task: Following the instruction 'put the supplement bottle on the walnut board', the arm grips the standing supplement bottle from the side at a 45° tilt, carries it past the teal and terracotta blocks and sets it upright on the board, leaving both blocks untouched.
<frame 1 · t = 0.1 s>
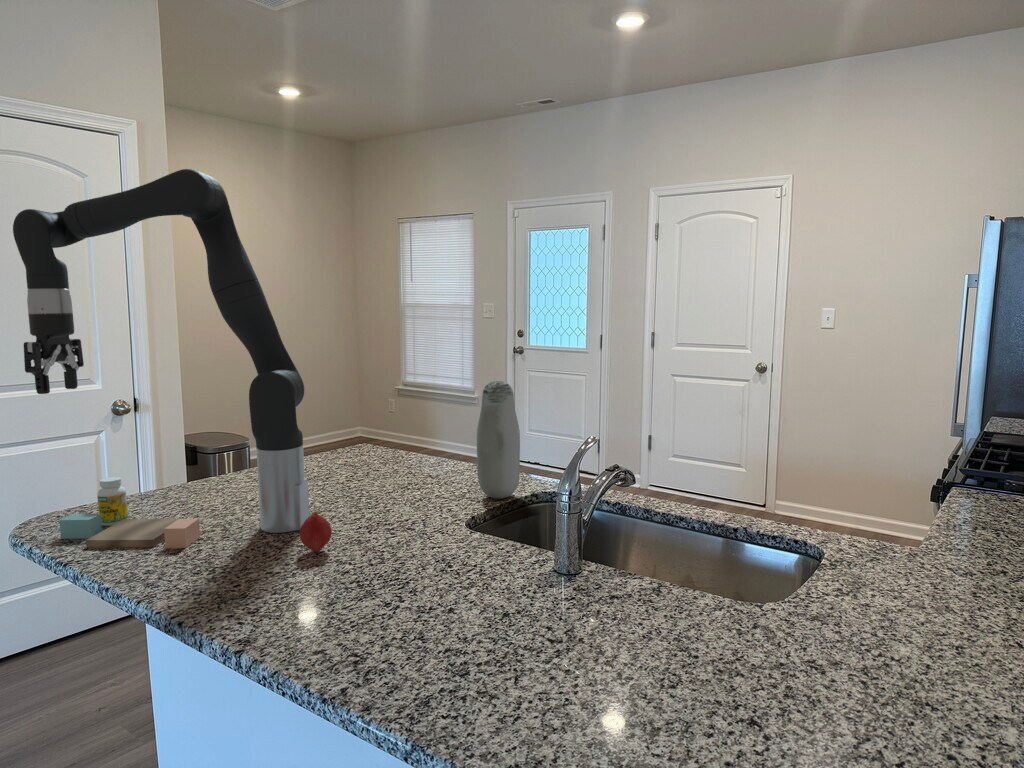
hand: (58, 391, 141), 29 cm above the worktop, tool pointing down, fingers open, 8 cm apart
teal block: (82, 535, 140), on the worktop
walnut board: (138, 535, 139), on the worktop
onion: (316, 552, 129), on the worktop
supplement bottle: (114, 523, 148), on the worktop
terracotta block: (183, 543, 135), on the worktop
grey bottle: (499, 498, 164), on the worktop
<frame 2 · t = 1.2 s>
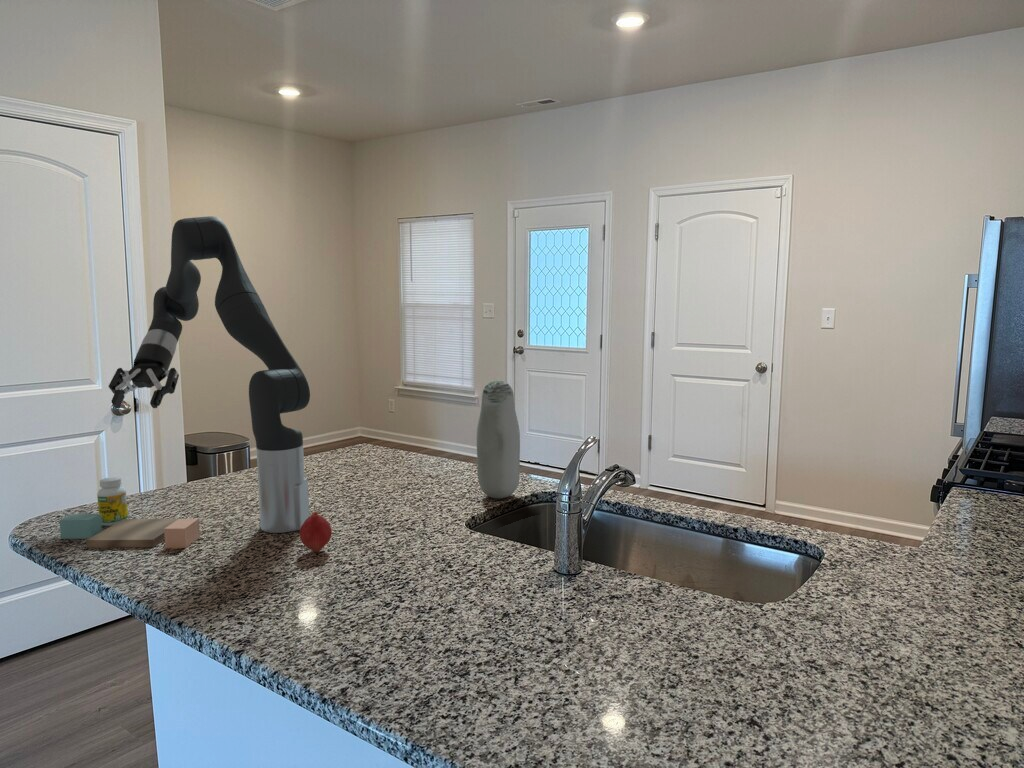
hand: (134, 406, 157), 24 cm above the worktop, tool tilted 45°, fingers open, 8 cm apart
nothing on the worktop moved.
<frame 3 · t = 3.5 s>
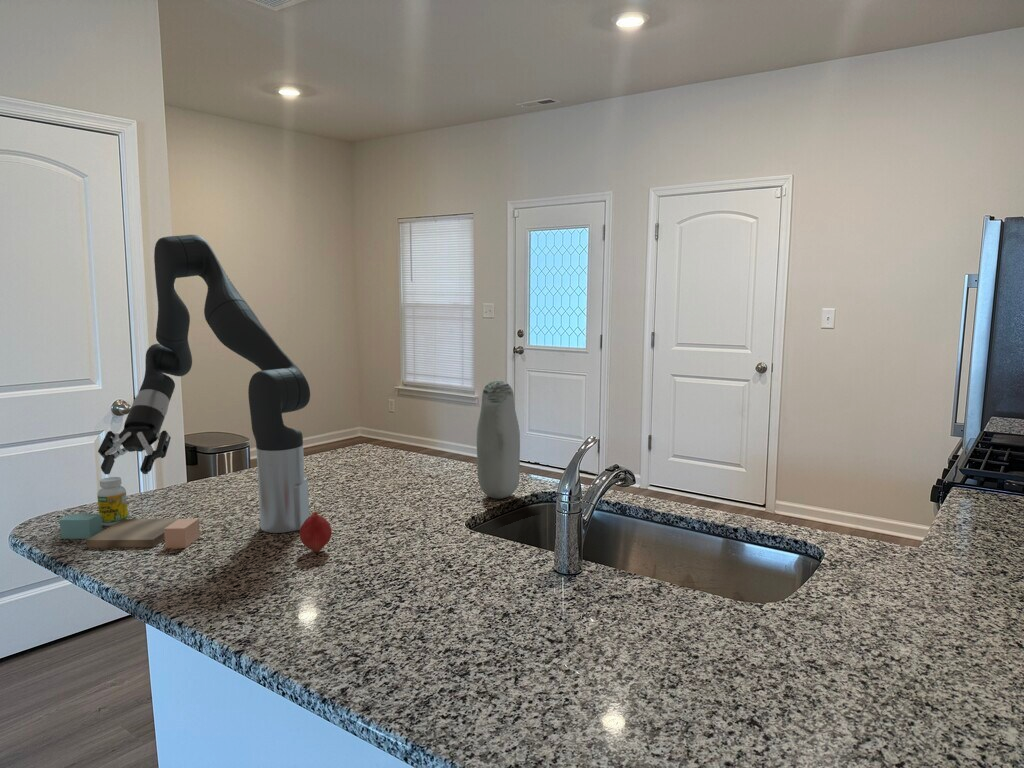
hand: (124, 472, 152), 10 cm above the worktop, tool tilted 45°, fingers open, 8 cm apart
nothing on the worktop moved.
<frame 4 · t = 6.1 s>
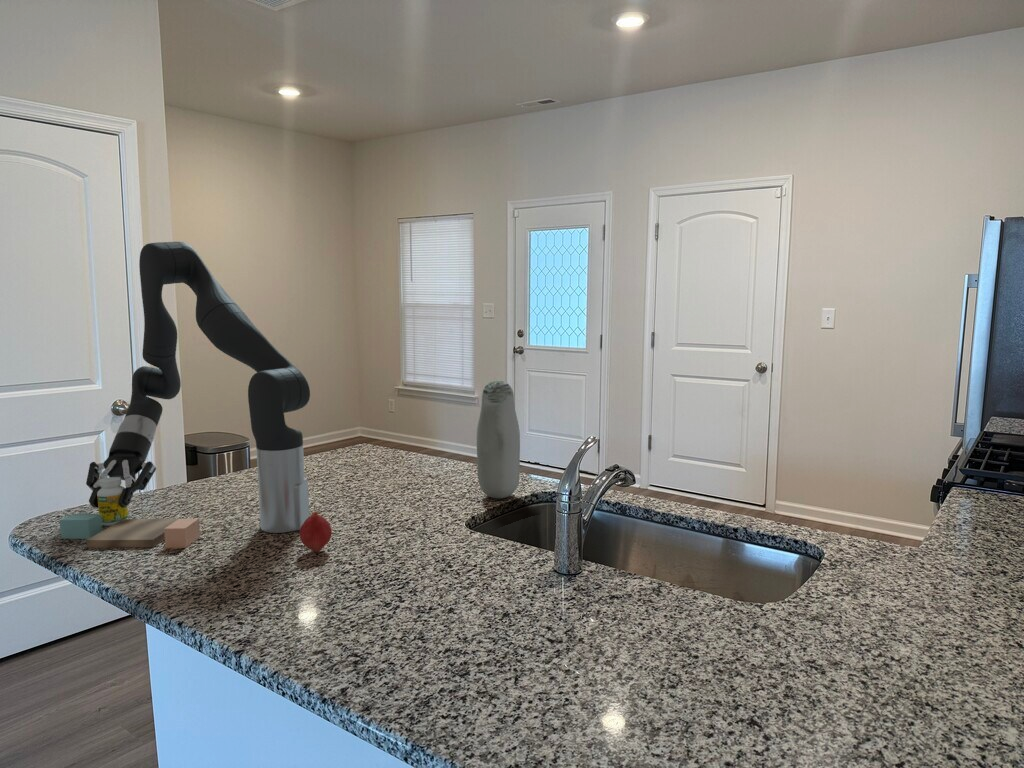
hand: (107, 505, 146), 4 cm above the worktop, tool tilted 45°, fingers closed on supplement bottle, 5 cm apart
supplement bottle: (114, 523, 148), on the worktop, touching gripper
everything else where it was.
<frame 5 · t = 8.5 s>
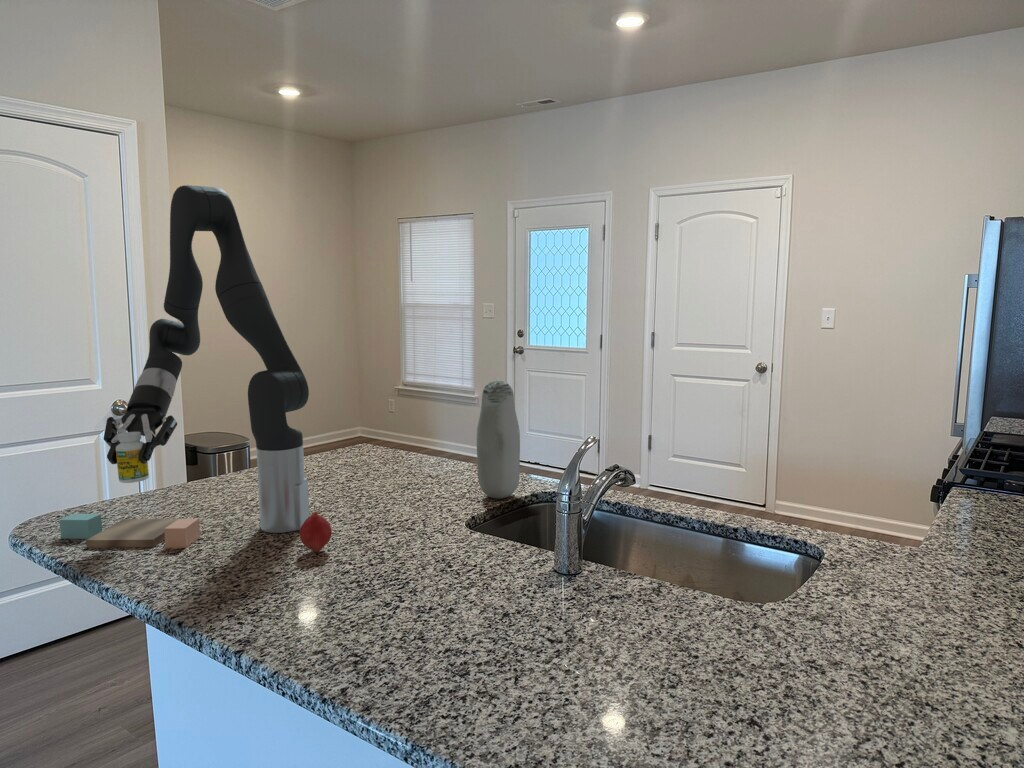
hand: (127, 461, 136), 16 cm above the worktop, tool tilted 45°, fingers closed on supplement bottle, 5 cm apart
supplement bottle: (134, 480, 139), point 11 cm above the worktop, touching gripper
everything else where it was.
when the fingers open (7 cm above the worktop, at t = 11.2 s): supplement bottle drops 1 cm, resting on walnut board.
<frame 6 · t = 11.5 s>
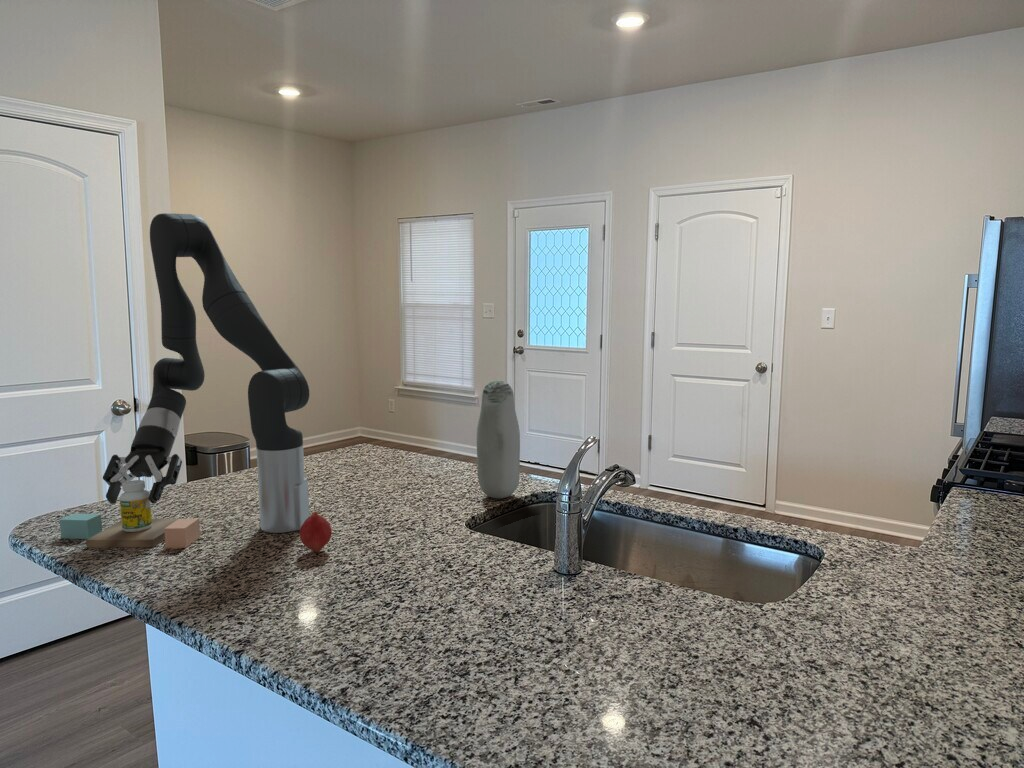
hand: (131, 501, 137), 8 cm above the worktop, tool tilted 45°, fingers open, 8 cm apart
supplement bottle: (137, 529, 139), point 1 cm above the worktop, touching walnut board
everything else where it was.
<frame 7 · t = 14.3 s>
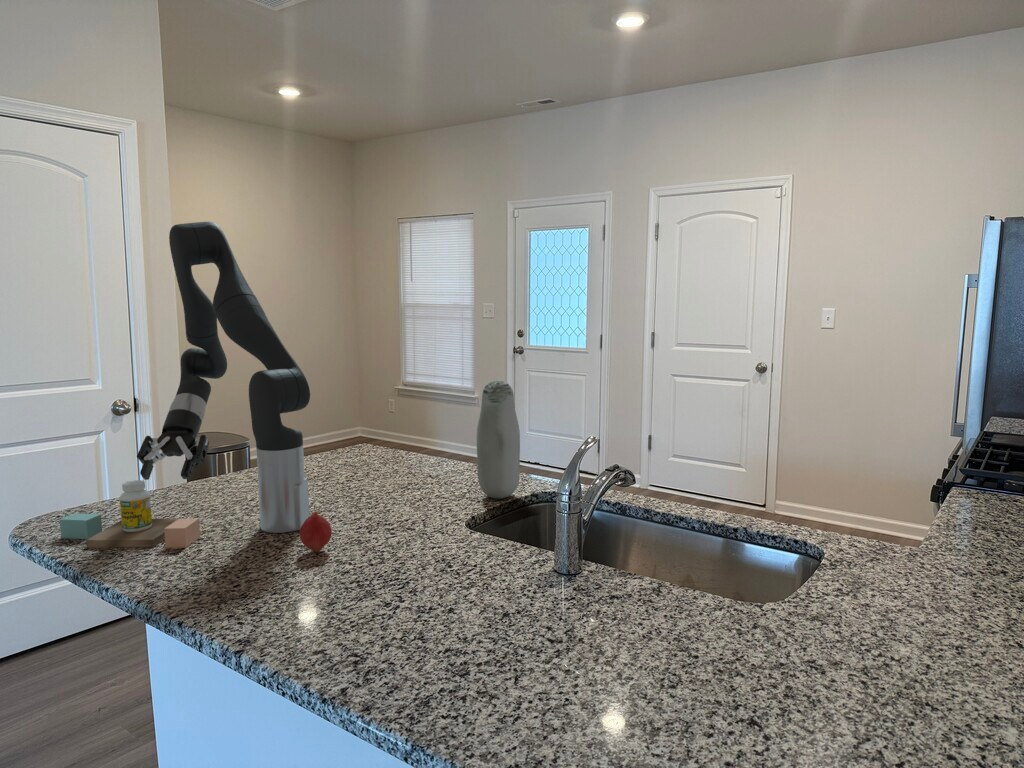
hand: (164, 477, 150), 9 cm above the worktop, tool tilted 45°, fingers open, 8 cm apart
nothing on the worktop moved.
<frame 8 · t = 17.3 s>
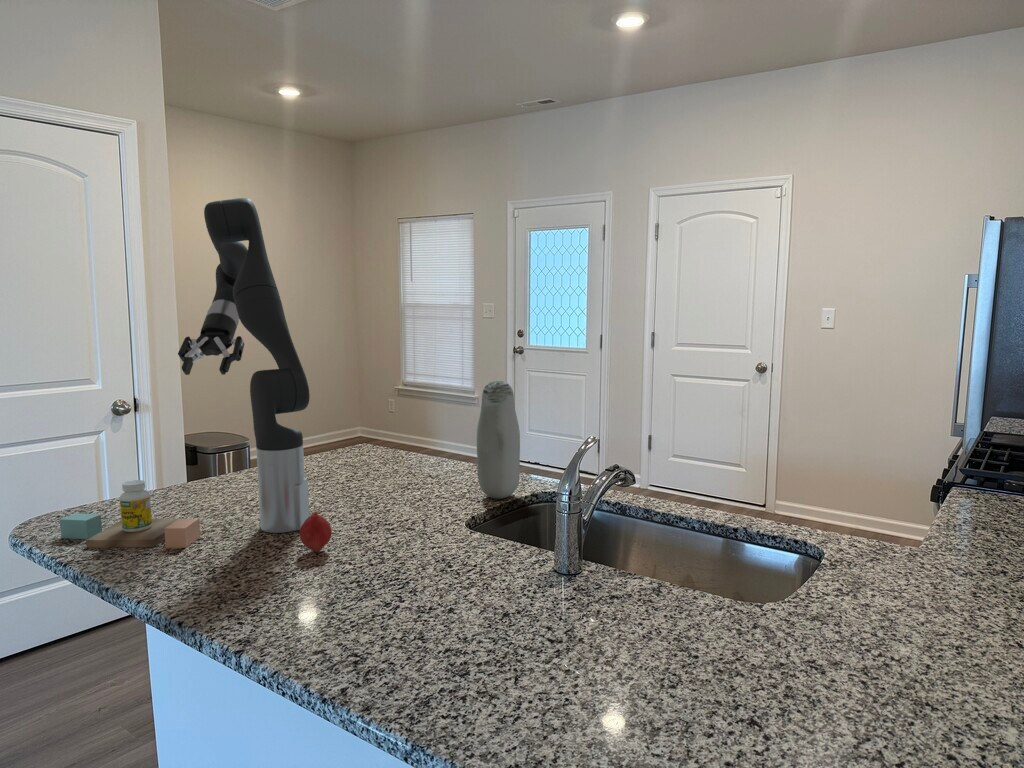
hand: (204, 372, 161), 31 cm above the worktop, tool tilted 45°, fingers open, 8 cm apart
nothing on the worktop moved.
at the end: supplement bottle inside the target area on the walnut board (0.2 cm from its centre), point 1.3 cm above the walnut board's base; supplement bottle tilted 0°; teal block moved 0.2 cm from its start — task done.
